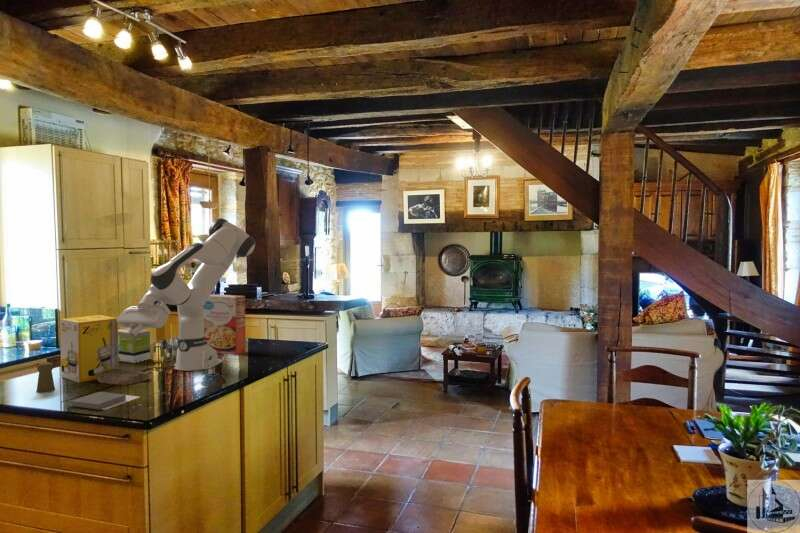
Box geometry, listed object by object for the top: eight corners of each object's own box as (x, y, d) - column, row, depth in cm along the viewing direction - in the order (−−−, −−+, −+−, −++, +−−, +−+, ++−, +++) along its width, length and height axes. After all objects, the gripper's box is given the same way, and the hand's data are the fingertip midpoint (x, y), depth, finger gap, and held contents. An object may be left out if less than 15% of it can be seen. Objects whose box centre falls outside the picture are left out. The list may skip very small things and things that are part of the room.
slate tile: (99, 391, 196) (71, 400, 184) (125, 394, 192) (98, 404, 181) (99, 396, 196) (71, 406, 185) (125, 400, 192) (98, 410, 181)
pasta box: (199, 351, 279) (199, 295, 278) (209, 348, 287) (209, 294, 286) (235, 355, 272) (235, 297, 271) (245, 352, 280) (245, 295, 278)
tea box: (111, 360, 257) (110, 330, 256) (128, 356, 266) (128, 327, 266) (133, 363, 251) (133, 332, 251) (151, 359, 261) (150, 329, 260)
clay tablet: (87, 383, 217) (124, 387, 210) (87, 371, 217) (124, 375, 210) (116, 376, 231) (151, 380, 224) (116, 365, 230) (151, 368, 224)
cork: (42, 388, 208) (41, 361, 207) (58, 388, 209) (57, 360, 208) (32, 393, 202) (32, 364, 201) (49, 392, 202) (48, 364, 202)
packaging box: (118, 374, 230) (118, 318, 229) (79, 382, 217) (78, 322, 216) (100, 369, 239) (99, 314, 238) (61, 376, 226) (59, 319, 225)
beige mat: (107, 394, 201) (106, 392, 201) (140, 398, 197) (140, 396, 197) (69, 406, 186) (69, 404, 186) (105, 411, 181) (105, 409, 181)
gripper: (124, 301, 214) (105, 328, 205) (166, 302, 209) (149, 330, 199) (132, 311, 218) (114, 338, 209) (174, 312, 213) (158, 340, 204)
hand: (131, 334), depth 204 cm, fingers closed
